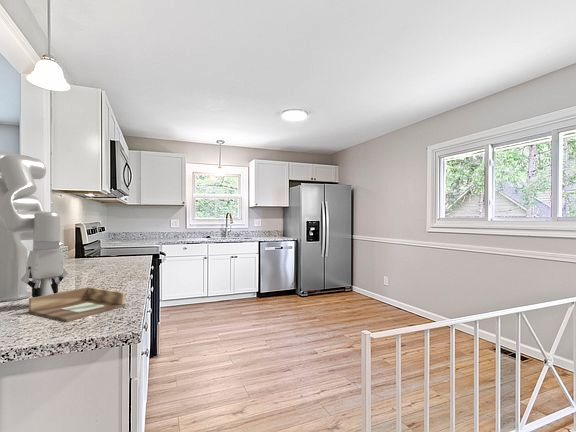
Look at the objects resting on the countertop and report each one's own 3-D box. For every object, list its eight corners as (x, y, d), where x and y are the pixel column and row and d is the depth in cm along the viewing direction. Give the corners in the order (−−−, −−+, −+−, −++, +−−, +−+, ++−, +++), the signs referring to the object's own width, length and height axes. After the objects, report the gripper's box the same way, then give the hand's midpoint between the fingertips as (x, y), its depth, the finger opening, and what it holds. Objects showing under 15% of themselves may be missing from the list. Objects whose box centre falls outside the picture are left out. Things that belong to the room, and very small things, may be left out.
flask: (43, 308, 108) (44, 279, 109) (26, 307, 110) (27, 278, 110) (62, 303, 116) (63, 275, 116) (46, 301, 117) (46, 274, 117)
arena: (28, 313, 103) (29, 298, 103) (88, 299, 121) (89, 286, 121) (67, 321, 95) (67, 305, 95) (125, 305, 113) (125, 292, 113)
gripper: (64, 244, 122) (63, 291, 122) (12, 247, 107) (10, 301, 107) (77, 245, 119) (76, 293, 119) (24, 248, 104) (23, 304, 104)
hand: (45, 296), depth 113 cm, fingers closed on flask, 4 cm apart
